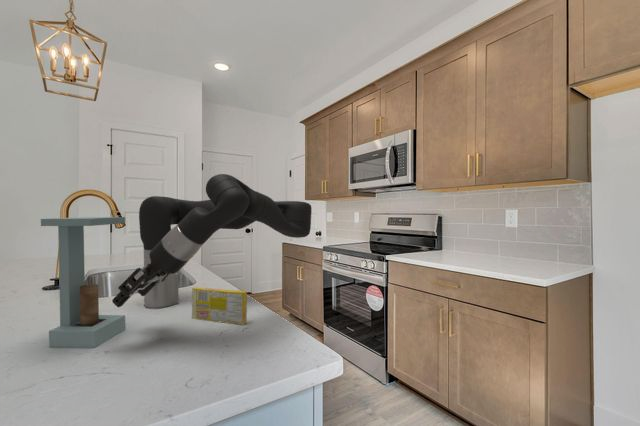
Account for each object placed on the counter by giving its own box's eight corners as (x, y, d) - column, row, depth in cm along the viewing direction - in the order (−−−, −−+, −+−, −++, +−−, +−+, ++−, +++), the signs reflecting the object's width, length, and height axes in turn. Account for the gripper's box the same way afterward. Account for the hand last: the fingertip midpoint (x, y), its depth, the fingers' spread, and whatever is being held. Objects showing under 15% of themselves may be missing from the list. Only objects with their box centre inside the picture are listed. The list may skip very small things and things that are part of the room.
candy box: (247, 322, 81) (247, 290, 81) (243, 325, 79) (242, 293, 79) (196, 316, 86) (196, 286, 86) (191, 318, 84) (190, 288, 84)
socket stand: (126, 328, 77) (124, 217, 77) (92, 348, 66) (90, 218, 66) (84, 328, 78) (82, 217, 77) (43, 348, 67) (40, 218, 66)
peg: (99, 333, 74) (99, 283, 74) (98, 338, 71) (97, 286, 71) (81, 336, 72) (81, 285, 72) (79, 342, 70) (78, 288, 69)
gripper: (172, 265, 63) (119, 321, 64) (202, 255, 78) (158, 300, 78) (146, 239, 64) (93, 295, 64) (181, 233, 78) (137, 279, 78)
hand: (129, 298), depth 71 cm, fingers open, 8 cm apart
